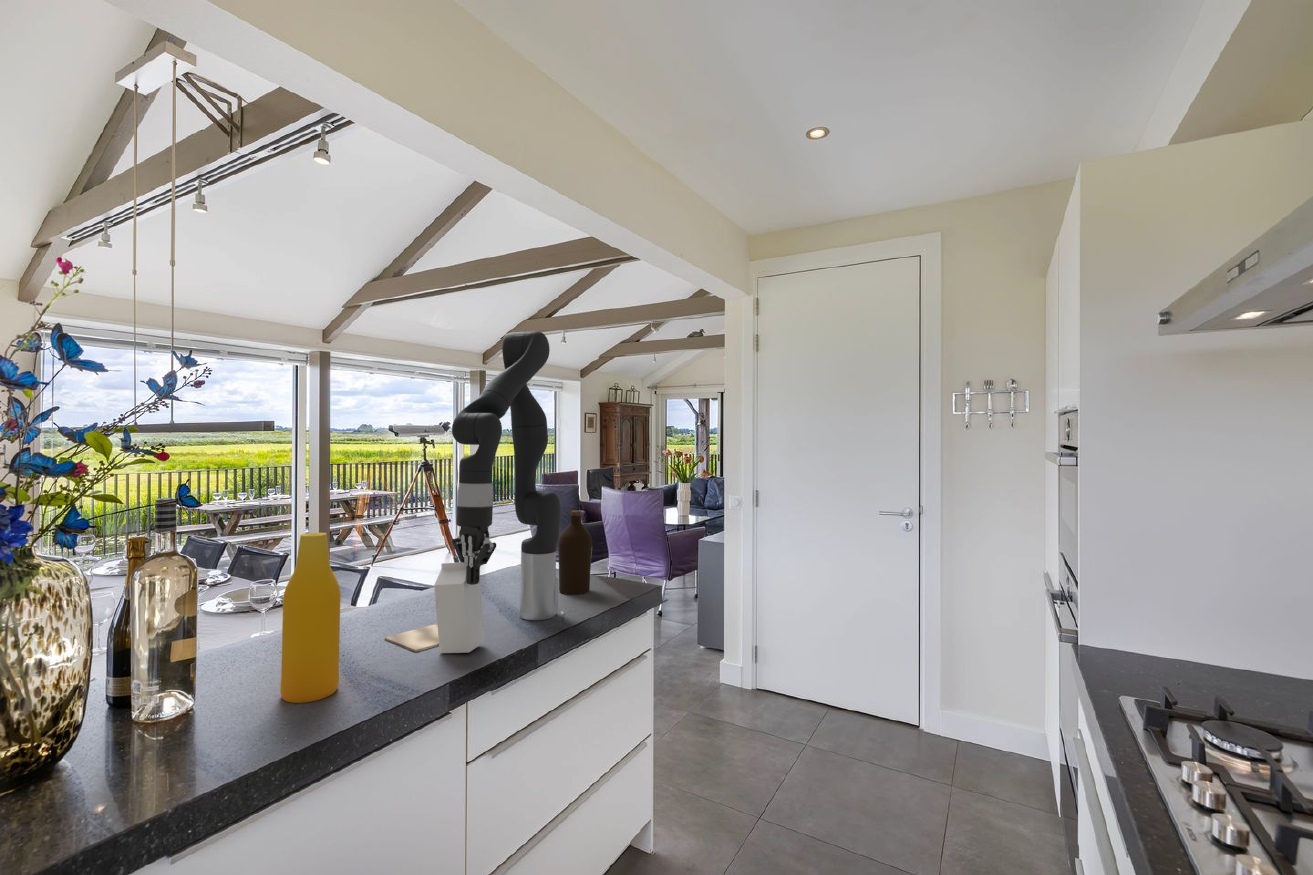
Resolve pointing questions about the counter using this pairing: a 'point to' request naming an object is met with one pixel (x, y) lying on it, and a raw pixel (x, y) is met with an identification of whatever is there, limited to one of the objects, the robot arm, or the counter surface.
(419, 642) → the cork mat
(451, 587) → the milk carton
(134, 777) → the counter surface
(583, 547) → the olive oil
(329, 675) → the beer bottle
